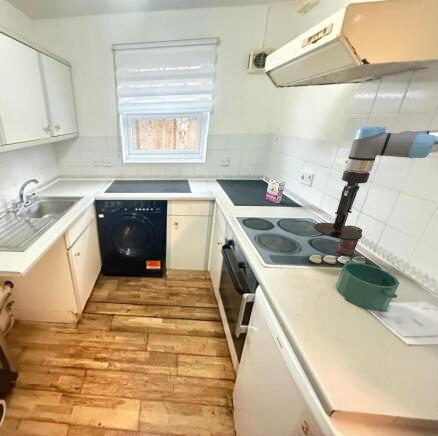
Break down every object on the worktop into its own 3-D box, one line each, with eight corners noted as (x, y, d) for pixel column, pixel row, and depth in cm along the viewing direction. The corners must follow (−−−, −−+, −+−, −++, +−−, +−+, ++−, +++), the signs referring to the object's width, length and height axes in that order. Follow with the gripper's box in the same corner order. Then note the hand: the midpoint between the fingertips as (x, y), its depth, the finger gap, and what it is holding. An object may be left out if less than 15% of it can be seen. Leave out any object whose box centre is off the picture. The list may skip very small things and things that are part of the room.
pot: (361, 279, 95) (370, 259, 91) (407, 318, 77) (420, 295, 73) (323, 277, 96) (330, 257, 93) (358, 314, 78) (368, 291, 74)
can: (355, 258, 109) (365, 231, 104) (338, 256, 111) (348, 229, 106) (349, 252, 114) (359, 226, 109) (334, 250, 116) (343, 224, 111)
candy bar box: (280, 203, 180) (285, 182, 174) (275, 204, 179) (280, 182, 173) (270, 199, 190) (274, 179, 184) (264, 199, 189) (268, 179, 183)
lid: (344, 225, 104) (351, 205, 100) (371, 242, 90) (380, 220, 86) (306, 224, 106) (312, 204, 102) (327, 240, 91) (334, 218, 88)
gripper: (350, 167, 95) (333, 220, 104) (338, 172, 86) (320, 230, 95) (375, 169, 90) (354, 226, 99) (364, 175, 80) (343, 237, 90)
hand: (338, 228), depth 97 cm, fingers closed on lid, 3 cm apart
